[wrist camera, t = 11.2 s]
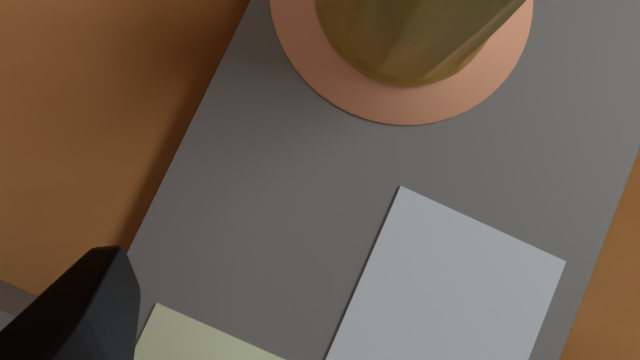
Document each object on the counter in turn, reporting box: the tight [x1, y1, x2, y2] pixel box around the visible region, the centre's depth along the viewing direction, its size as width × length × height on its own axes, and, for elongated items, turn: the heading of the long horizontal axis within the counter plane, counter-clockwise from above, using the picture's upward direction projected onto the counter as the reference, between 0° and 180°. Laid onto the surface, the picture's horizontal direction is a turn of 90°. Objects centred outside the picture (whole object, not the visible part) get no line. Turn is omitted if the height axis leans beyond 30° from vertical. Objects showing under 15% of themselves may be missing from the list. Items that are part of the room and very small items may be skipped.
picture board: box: [127, 0, 640, 360], centre depth 17 cm, size 28×14×1 cm, turn 156°
